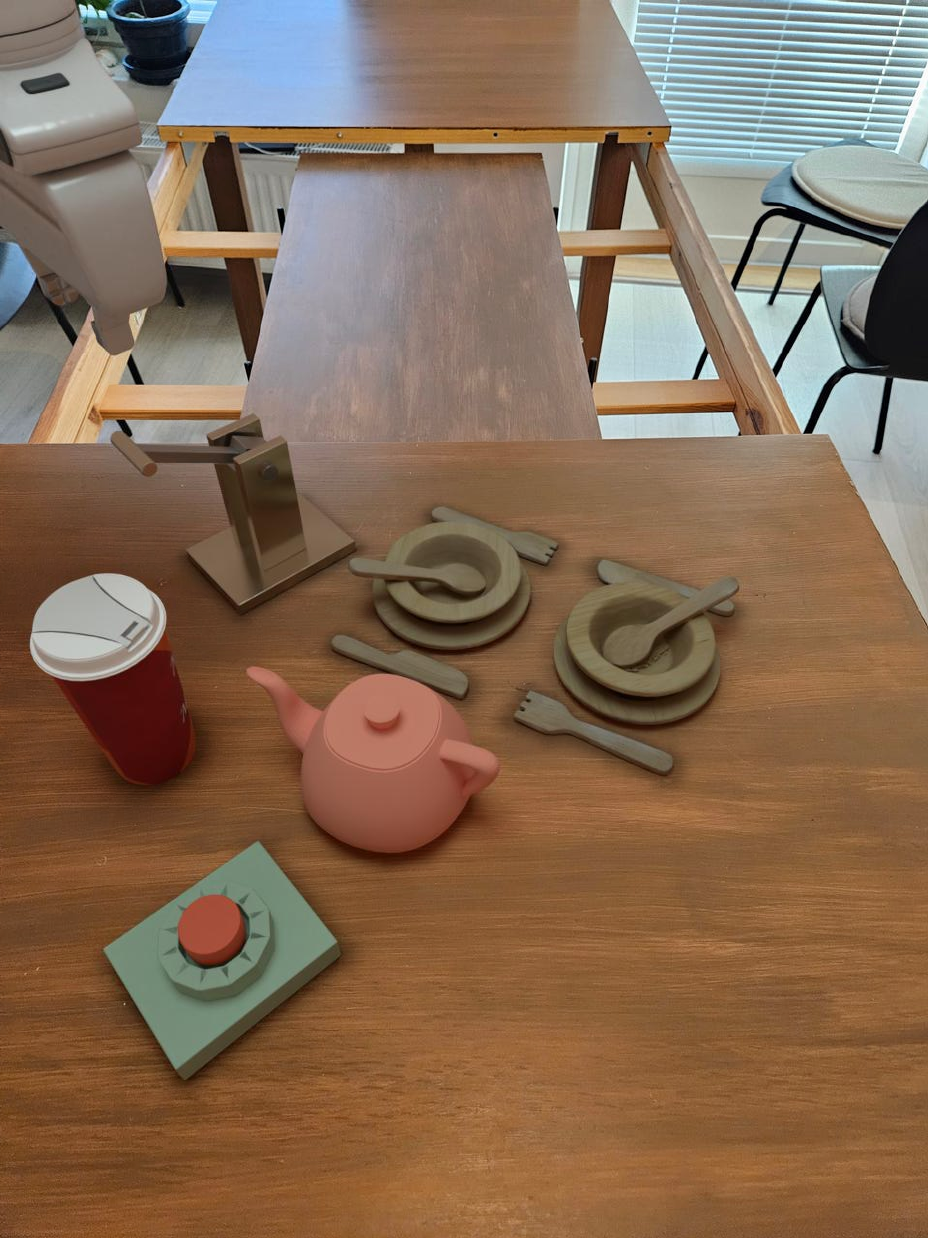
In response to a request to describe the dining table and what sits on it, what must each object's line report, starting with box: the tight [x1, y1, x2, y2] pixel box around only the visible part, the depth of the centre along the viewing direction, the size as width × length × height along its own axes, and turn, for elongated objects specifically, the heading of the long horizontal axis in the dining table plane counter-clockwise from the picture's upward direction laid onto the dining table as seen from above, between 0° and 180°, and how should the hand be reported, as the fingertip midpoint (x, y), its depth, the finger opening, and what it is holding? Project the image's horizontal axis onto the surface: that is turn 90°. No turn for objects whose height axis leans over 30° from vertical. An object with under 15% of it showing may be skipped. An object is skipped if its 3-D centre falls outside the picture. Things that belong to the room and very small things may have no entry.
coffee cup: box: [29, 572, 197, 786], centre depth 60 cm, size 8×8×15 cm
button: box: [178, 895, 246, 966], centre depth 52 cm, size 4×4×2 cm
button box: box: [102, 840, 342, 1081], centre depth 54 cm, size 11×9×4 cm
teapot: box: [246, 666, 501, 854], centre depth 61 cm, size 12×18×10 cm
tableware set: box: [331, 506, 740, 776], centre depth 72 cm, size 30×20×6 cm, turn 64°
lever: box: [109, 430, 268, 478], centre depth 68 cm, size 12×5×2 cm, turn 131°
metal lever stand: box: [185, 413, 357, 615], centre depth 75 cm, size 12×9×13 cm
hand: (89, 322), depth 57 cm, fingers open, 6 cm apart
